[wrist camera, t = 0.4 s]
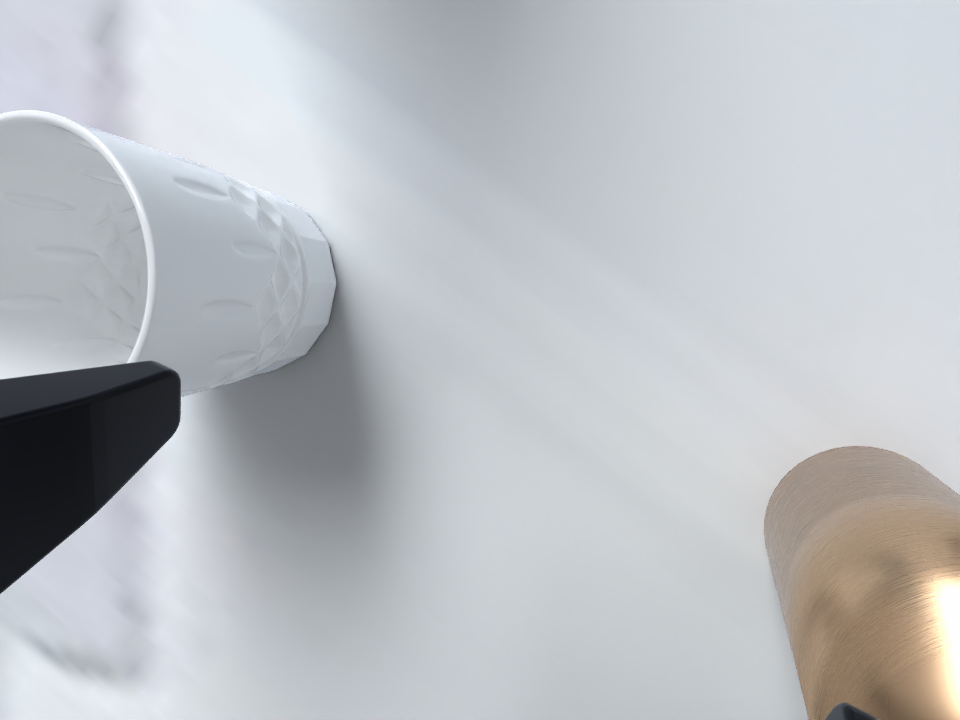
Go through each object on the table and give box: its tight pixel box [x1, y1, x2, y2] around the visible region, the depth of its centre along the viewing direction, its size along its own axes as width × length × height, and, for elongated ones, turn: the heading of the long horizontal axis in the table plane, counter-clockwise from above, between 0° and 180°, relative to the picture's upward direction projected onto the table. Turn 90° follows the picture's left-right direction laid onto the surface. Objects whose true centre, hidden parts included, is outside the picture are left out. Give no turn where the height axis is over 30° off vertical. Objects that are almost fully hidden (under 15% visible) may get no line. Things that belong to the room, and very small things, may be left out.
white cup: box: [0, 110, 336, 397], centre depth 23 cm, size 8×8×10 cm
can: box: [764, 446, 960, 720], centre depth 16 cm, size 5×5×13 cm
